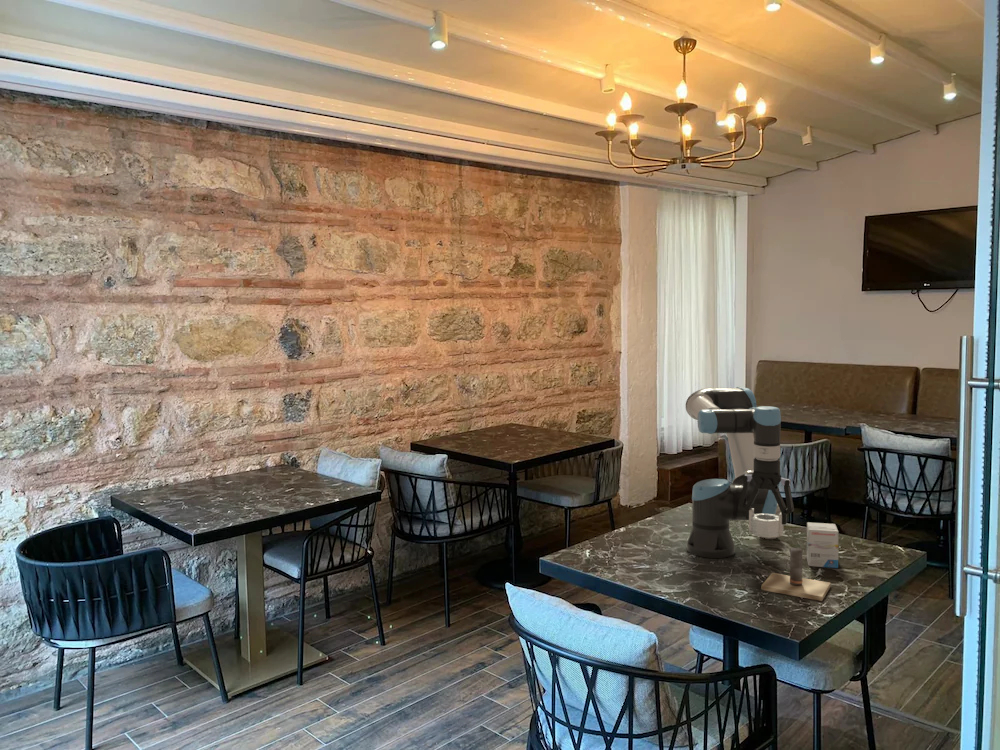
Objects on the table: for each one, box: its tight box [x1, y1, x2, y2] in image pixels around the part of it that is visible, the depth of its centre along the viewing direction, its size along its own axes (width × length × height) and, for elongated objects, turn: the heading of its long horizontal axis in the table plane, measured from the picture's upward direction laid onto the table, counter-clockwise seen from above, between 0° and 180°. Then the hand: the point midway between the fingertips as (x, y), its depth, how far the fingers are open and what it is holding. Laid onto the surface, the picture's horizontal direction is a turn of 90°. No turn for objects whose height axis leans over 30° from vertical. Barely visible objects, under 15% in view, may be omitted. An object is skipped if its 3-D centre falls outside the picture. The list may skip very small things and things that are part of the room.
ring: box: [750, 513, 780, 538], centre depth 223 cm, size 8×8×5 cm
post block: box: [760, 547, 832, 602], centre depth 208 cm, size 16×12×11 cm
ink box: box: [806, 521, 840, 569], centre depth 228 cm, size 9×8×12 cm
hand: (766, 532), depth 223 cm, fingers closed on ring, 8 cm apart
